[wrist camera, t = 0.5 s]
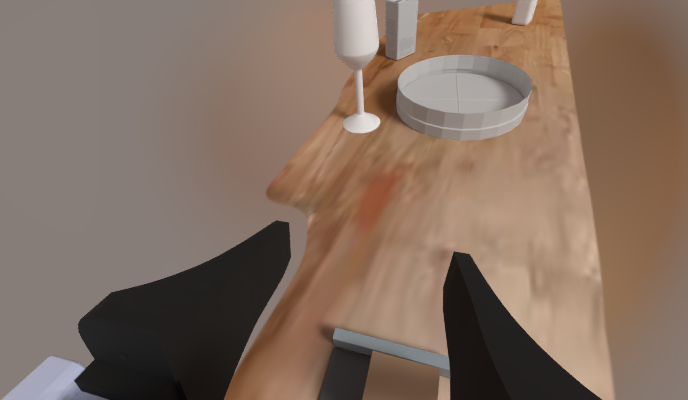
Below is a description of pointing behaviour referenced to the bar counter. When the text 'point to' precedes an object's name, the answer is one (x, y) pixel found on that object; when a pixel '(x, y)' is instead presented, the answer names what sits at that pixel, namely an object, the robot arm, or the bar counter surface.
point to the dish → (463, 97)
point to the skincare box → (401, 28)
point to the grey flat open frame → (367, 363)
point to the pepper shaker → (524, 11)
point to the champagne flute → (356, 51)
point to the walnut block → (400, 379)
